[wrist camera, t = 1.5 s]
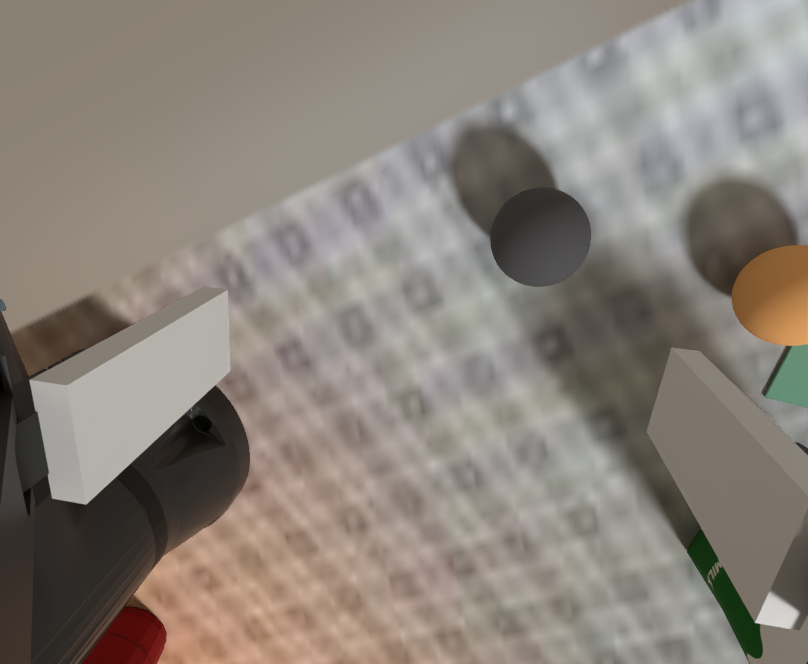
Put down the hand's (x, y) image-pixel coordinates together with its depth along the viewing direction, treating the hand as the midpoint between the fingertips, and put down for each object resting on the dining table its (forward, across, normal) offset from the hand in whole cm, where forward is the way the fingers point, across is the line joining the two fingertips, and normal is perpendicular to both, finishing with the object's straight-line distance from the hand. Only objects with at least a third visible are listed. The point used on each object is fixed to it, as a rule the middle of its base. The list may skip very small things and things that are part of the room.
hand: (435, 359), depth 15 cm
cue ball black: (+16, +4, +1) cm, 17 cm away
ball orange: (+16, +18, 0) cm, 24 cm away
